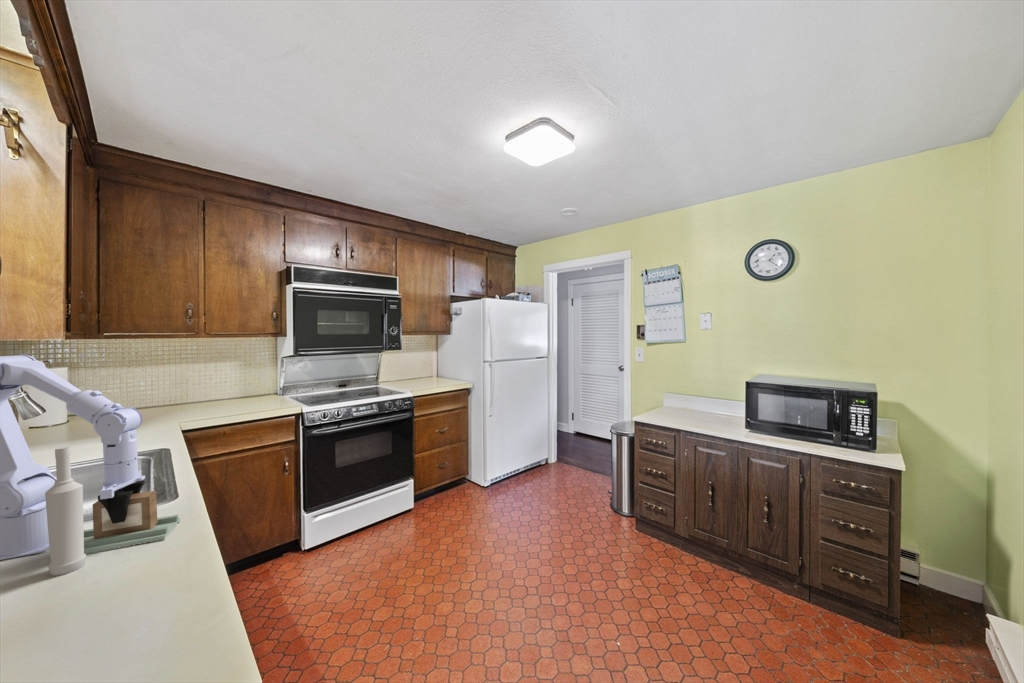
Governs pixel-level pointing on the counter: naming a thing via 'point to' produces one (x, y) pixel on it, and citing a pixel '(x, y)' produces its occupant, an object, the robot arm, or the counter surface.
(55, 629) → the counter surface
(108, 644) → the counter surface
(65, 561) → the bottle
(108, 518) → the picture frame
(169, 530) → the picture ledge
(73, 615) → the counter surface
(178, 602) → the counter surface
